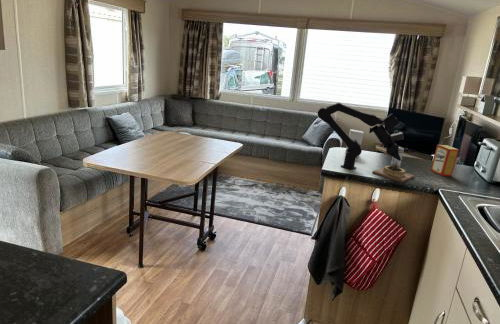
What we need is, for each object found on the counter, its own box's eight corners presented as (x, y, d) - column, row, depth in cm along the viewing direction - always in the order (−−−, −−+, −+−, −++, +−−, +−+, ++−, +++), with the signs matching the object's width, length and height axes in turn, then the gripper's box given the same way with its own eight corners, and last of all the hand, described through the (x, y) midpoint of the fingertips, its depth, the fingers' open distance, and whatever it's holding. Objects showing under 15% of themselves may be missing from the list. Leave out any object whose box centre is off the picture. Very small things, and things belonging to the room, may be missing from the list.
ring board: (401, 182, 183) (403, 175, 182) (372, 173, 194) (373, 166, 193) (413, 177, 195) (415, 171, 194) (385, 168, 205) (386, 162, 204)
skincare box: (345, 155, 225) (349, 130, 221) (345, 152, 232) (349, 128, 227) (358, 157, 224) (364, 132, 219) (358, 155, 230) (363, 130, 226)
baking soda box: (451, 176, 207) (459, 149, 202) (441, 175, 205) (449, 148, 200) (439, 170, 215) (446, 144, 211) (430, 170, 214) (437, 143, 209)
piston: (397, 173, 191) (403, 149, 187) (388, 171, 193) (394, 147, 189) (398, 171, 195) (404, 148, 191) (389, 169, 197) (395, 146, 193)
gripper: (399, 129, 179) (417, 154, 180) (394, 123, 196) (410, 146, 197) (378, 141, 183) (396, 166, 184) (375, 135, 200) (392, 158, 201)
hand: (399, 159), depth 191 cm, fingers closed on piston, 4 cm apart
